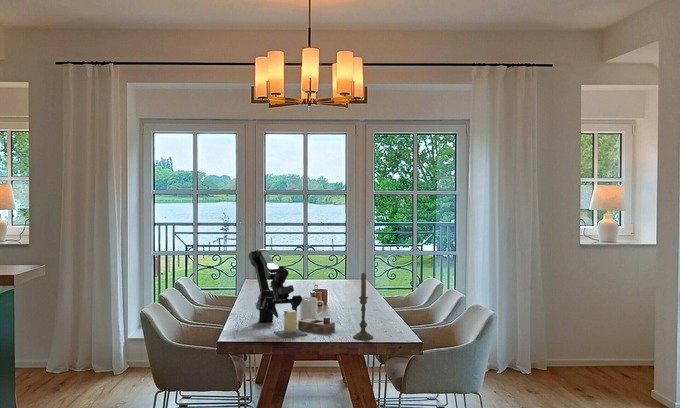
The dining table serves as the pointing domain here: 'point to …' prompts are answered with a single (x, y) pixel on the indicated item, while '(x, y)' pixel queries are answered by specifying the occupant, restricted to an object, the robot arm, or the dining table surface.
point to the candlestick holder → (363, 312)
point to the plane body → (317, 325)
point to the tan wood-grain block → (290, 322)
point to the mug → (309, 308)
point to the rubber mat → (284, 335)
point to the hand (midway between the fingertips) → (286, 316)
